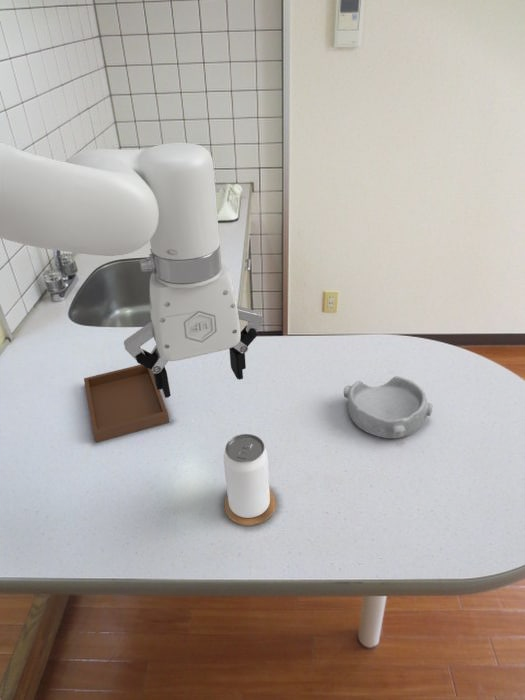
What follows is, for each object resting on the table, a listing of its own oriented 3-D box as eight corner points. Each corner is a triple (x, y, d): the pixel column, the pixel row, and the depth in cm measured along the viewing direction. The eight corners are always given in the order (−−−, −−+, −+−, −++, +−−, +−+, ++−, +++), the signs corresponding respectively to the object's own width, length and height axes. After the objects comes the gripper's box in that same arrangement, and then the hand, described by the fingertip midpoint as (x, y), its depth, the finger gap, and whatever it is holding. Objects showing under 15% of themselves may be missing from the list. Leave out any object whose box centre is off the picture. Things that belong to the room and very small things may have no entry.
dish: (333, 407, 101) (334, 386, 98) (391, 384, 105) (394, 364, 103) (380, 455, 90) (383, 434, 87) (442, 427, 95) (447, 406, 92)
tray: (169, 422, 99) (167, 412, 97) (95, 442, 95) (93, 433, 94) (151, 371, 112) (149, 362, 111) (86, 387, 109) (83, 378, 107)
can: (274, 490, 84) (272, 435, 77) (263, 523, 79) (260, 468, 72) (236, 483, 85) (230, 428, 78) (223, 515, 80) (216, 459, 73)
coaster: (257, 534, 78) (256, 532, 77) (214, 511, 82) (214, 509, 81) (285, 498, 83) (285, 496, 83) (244, 477, 87) (244, 475, 87)
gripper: (113, 290, 54) (140, 417, 63) (271, 261, 58) (274, 383, 68) (105, 262, 59) (131, 381, 69) (249, 237, 64) (254, 352, 74)
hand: (201, 382), depth 69 cm, fingers open, 9 cm apart
